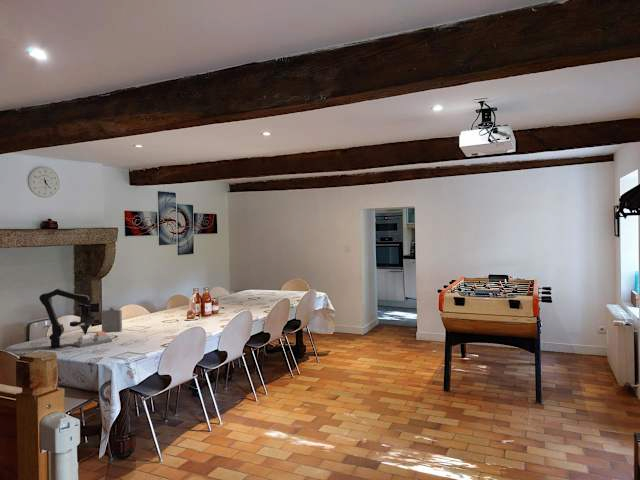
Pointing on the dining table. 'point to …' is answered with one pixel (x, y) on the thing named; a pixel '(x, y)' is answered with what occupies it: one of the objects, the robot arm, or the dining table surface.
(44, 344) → the dining table surface
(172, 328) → the dining table surface
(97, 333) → the key terracotta
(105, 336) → the key panel
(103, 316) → the hip flask
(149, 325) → the dining table surface
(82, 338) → the key ivory
